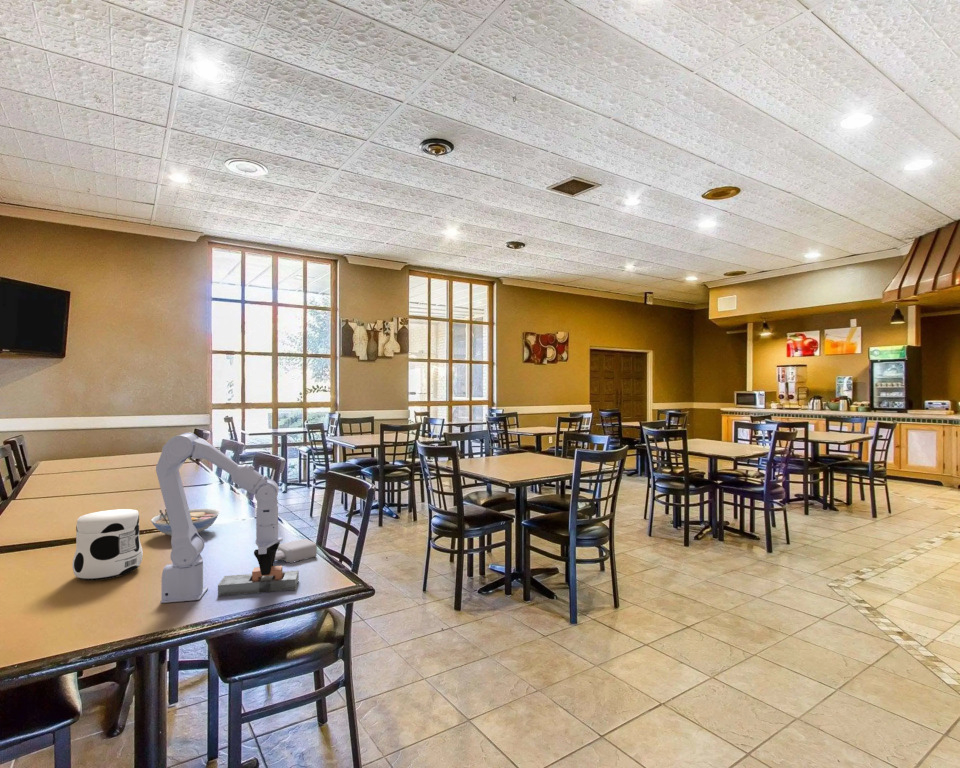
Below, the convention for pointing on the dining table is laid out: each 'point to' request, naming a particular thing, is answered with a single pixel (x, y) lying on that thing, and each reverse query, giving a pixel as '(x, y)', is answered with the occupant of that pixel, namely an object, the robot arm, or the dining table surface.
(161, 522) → the ramen bowl
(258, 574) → the orange u-shaped block
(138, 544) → the milk container
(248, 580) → the gray rectangular frame
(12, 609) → the dining table surface
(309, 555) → the charger
